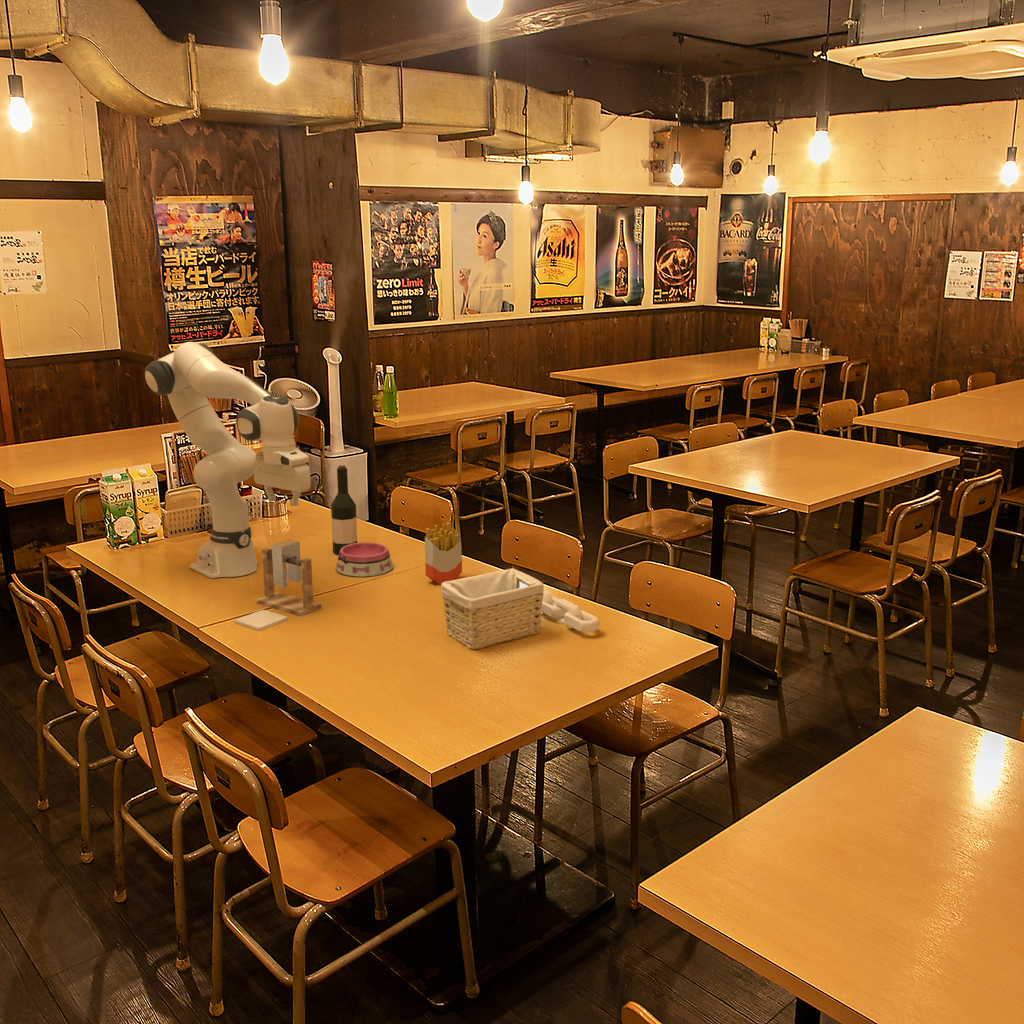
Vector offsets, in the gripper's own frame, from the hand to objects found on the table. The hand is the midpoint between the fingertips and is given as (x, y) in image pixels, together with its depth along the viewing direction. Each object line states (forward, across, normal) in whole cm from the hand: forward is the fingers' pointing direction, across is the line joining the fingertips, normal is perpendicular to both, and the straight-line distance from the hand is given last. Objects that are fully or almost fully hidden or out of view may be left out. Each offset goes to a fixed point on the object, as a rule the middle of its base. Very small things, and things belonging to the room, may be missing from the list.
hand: (283, 503), depth 271 cm
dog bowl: (+31, -8, +37) cm, 49 cm away
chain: (+32, +68, +38) cm, 84 cm away
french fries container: (+31, +21, +44) cm, 58 cm away
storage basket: (+32, +59, +19) cm, 70 cm away
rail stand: (+30, 0, 0) cm, 30 cm away
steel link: (+24, 0, 0) cm, 24 cm away
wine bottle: (+30, -25, +46) cm, 60 cm away
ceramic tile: (+30, +3, -13) cm, 33 cm away
